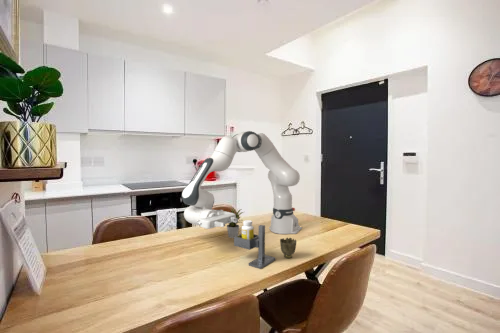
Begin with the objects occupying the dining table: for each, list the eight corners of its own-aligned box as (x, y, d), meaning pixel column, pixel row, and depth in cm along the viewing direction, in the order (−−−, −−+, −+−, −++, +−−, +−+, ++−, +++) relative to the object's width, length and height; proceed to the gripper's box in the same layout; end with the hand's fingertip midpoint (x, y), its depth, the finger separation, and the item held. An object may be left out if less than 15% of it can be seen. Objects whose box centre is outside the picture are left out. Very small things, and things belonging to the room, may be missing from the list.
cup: (283, 261, 118) (283, 243, 117) (277, 255, 125) (277, 238, 124) (299, 259, 120) (299, 241, 119) (292, 253, 127) (292, 236, 126)
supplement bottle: (253, 240, 123) (253, 219, 123) (253, 244, 118) (254, 222, 117) (241, 240, 123) (241, 219, 123) (241, 244, 118) (241, 222, 117)
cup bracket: (247, 252, 128) (248, 219, 127) (275, 259, 119) (275, 224, 118) (231, 260, 118) (231, 224, 118) (260, 269, 109) (260, 230, 109)
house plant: (249, 233, 159) (249, 205, 159) (246, 240, 146) (246, 210, 145) (225, 232, 161) (225, 205, 160) (220, 239, 147) (220, 210, 146)
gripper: (193, 215, 125) (215, 220, 117) (223, 209, 142) (244, 212, 134) (193, 229, 126) (215, 234, 117) (223, 220, 142) (243, 225, 134)
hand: (231, 222), depth 126 cm, fingers open, 8 cm apart
